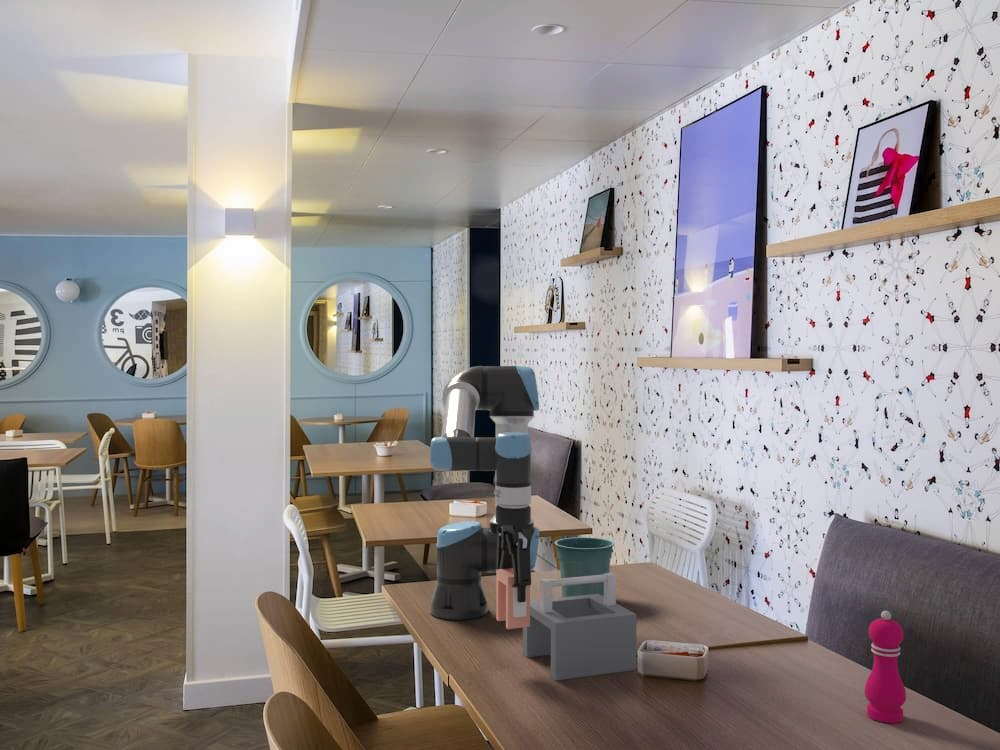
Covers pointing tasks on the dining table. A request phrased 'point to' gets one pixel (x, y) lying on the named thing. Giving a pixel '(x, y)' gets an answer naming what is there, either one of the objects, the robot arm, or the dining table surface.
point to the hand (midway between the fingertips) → (512, 611)
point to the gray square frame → (581, 630)
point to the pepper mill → (885, 672)
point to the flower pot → (583, 563)
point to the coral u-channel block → (509, 600)
